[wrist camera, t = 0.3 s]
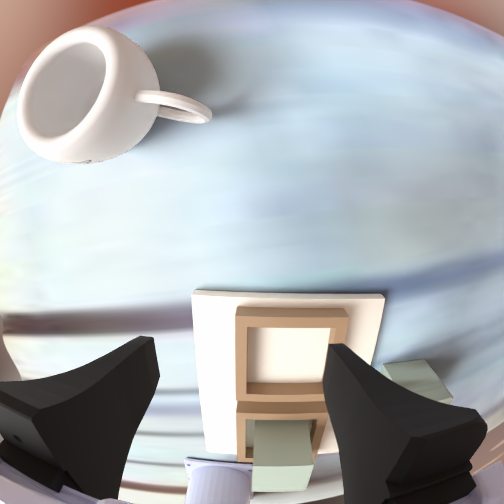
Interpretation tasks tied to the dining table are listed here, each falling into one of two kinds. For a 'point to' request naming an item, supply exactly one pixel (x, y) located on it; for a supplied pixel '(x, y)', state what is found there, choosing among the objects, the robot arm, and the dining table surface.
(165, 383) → the dining table surface
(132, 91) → the mug
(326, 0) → the dining table surface
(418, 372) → the green block
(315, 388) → the puzzle board
